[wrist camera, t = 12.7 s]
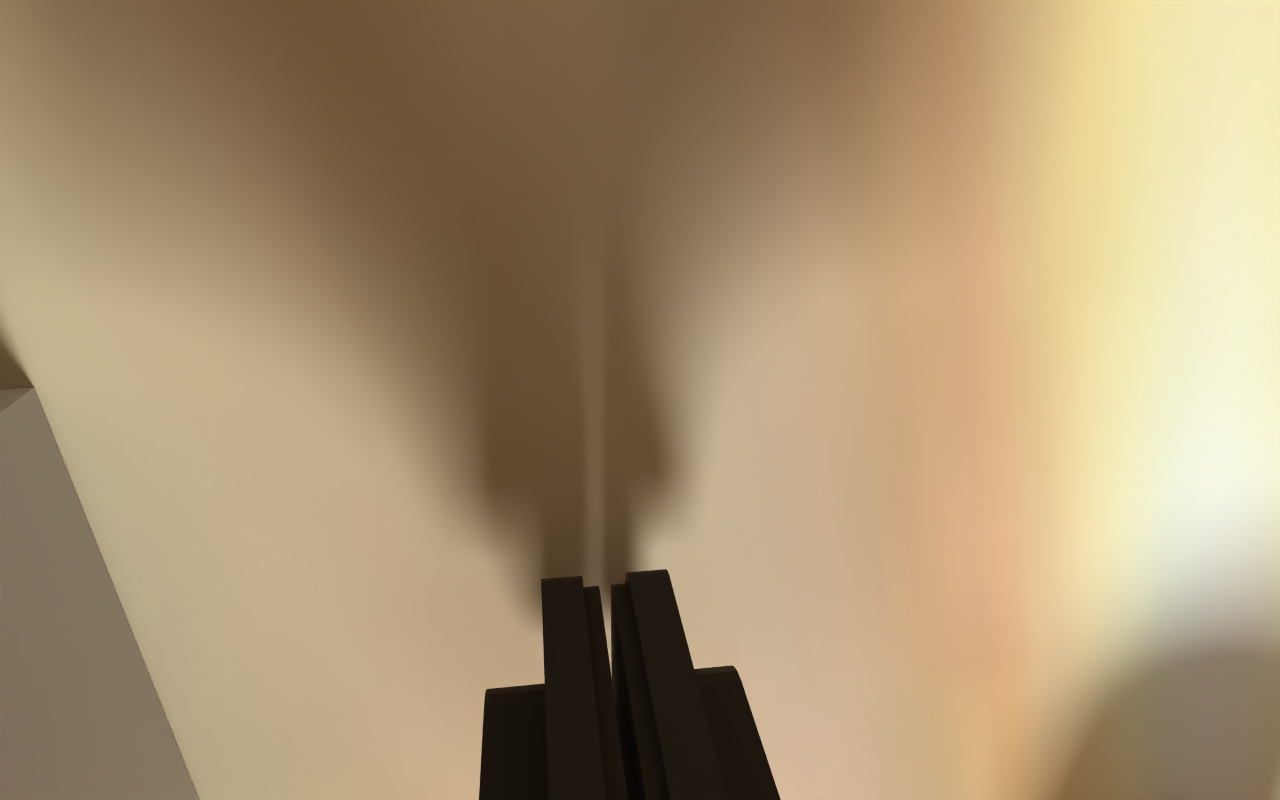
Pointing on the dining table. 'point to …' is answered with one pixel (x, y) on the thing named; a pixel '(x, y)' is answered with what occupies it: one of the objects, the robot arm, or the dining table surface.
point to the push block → (68, 642)
